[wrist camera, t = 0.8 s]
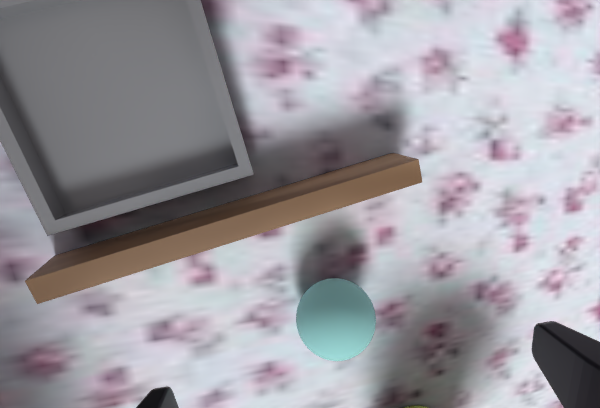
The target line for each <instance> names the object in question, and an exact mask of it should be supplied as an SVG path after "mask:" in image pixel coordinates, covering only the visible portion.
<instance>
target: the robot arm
mask: <svg viewBox="0 0 600 408" xmlns="http://www.w3.org/2000/svg"><path fill="white" fill-rule="evenodd" d="M532 354H533V357H534V359H535V361H536V362H537V364H538V366H539V367H540V369H541V371H542V372H543V374H544V376H545V377H546V379H547V381H548V382H549V384H550V385H551V387H552V389H553V390H554V392H555V394H556V395H557V397H558V399H559V400H560V402H561V404H562V405H563V407H564V408H600V342H599V341H597V340H594V339H592V338H590V337H588V336H586V335H583V334H581V333H579V332H577V331H575V330H572V329H570V328H568V327H566V326H564V325H561V324H559V323H557V322H554V321H549V322H543V323H538V324H536V325H535V327H534V334H533V342H532ZM136 408H179V407H178V405H177V402H176V399H175V396H174V394H173V391H172V389H171V388H170V387H161V388H155V389H153V390H151V391H150V392H149V393H148V394H147V396H146V397H145V398H144V399H143V400H142V401H141V403H140V404H139V405H138V406H137V407H136Z"/></svg>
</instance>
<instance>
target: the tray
mask: <svg viewBox="0 0 600 408" xmlns="http://www.w3.org/2000/svg"><path fill="white" fill-rule="evenodd" d="M0 141H1V143H2V145H3V147H4V149H5V151H6V153H7V155H8V157H9V159H10V161H11V163H12V165H13V167H14V169H15V172H16V174H17V176H18V178H19V180H20V182H21V184H22V186H23V188H24V190H25V192H26V194H27V196H28V198H29V200H30V202H31V204H32V206H33V208H34V210H35V212H36V214H37V216H38V218H39V220H40V222H41V224H42V226H43V228H44V230H45V232H46V234H47V236H49V235H52V234H56V233H59V232H62V231H66V230H69V229H73V228H76V227H79V226H83V225H86V224H89V223H93V222H96V221H99V220H103V219H106V218H110V217H113V216H116V215H120V214H123V213H126V212H130V211H133V210H136V209H140V208H143V207H146V206H150V205H153V204H157V203H160V202H163V201H167V200H170V199H173V198H177V197H180V196H183V195H187V194H190V193H194V192H197V191H200V190H204V189H207V188H210V187H214V186H217V185H220V184H224V183H227V182H230V181H234V180H237V179H241V178H244V177H247V176H251V175H254V173H253V170H252V167H251V163H250V160H249V157H248V154H247V150H246V147H245V144H244V141H243V137H242V134H241V131H240V127H239V124H238V121H237V118H236V114H235V111H234V108H233V105H232V101H231V98H230V95H229V91H228V88H227V85H226V82H225V78H224V75H223V72H222V69H221V65H220V62H219V59H218V56H217V52H216V49H215V46H214V42H213V39H212V36H211V33H210V29H209V26H208V23H207V20H206V16H205V13H204V10H203V6H202V3H201V0H0Z"/></svg>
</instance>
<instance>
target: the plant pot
mask: <svg viewBox="0 0 600 408" xmlns="http://www.w3.org/2000/svg"><path fill="white" fill-rule="evenodd" d="M405 408H429V407H425V406H409V407H405Z"/></svg>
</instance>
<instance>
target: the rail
mask: <svg viewBox="0 0 600 408" xmlns="http://www.w3.org/2000/svg"><path fill="white" fill-rule="evenodd" d="M421 182H422V177H421V171H420V165H419V160H418V159H415V158H411V157H407V156H403V155H399V154H395V153H391V154H387V155H384V156H381V157H378V158H374V159H371V160H368V161H364V162H361V163H358V164H354V165H351V166H348V167H345V168H341V169H338V170H335V171H331V172H328V173H325V174H322V175H318V176H315V177H312V178H308V179H305V180H302V181H299V182H295V183H292V184H289V185H285V186H282V187H279V188H276V189H272V190H269V191H266V192H262V193H259V194H256V195H253V196H249V197H246V198H243V199H239V200H236V201H233V202H229V203H226V204H223V205H220V206H216V207H213V208H210V209H206V210H203V211H200V212H197V213H193V214H190V215H187V216H183V217H180V218H177V219H174V220H170V221H167V222H164V223H160V224H157V225H154V226H151V227H147V228H144V229H141V230H137V231H134V232H131V233H128V234H124V235H121V236H118V237H114V238H111V239H108V240H105V241H101V242H98V243H95V244H91V245H88V246H85V247H81V248H78V249H75V250H72V251H68V252H65V253H62V254H58V255H55V256H54V257H53V258H51V259H50V260H49V261H48V262H47V263H46V264H44V265H43V266H42V267H41V268H40V269H38V270H37V271H36V272H35V273H34V274H33V275H31V276H30V277H29V278H28V279H27V280H25V282H26V284H27V286H28V288H29V290H30V291H31V293H32V295H33V297H34V299H35V301H36V303H37V304H39V303H42V302H45V301H49V300H52V299H55V298H58V297H61V296H64V295H67V294H71V293H74V292H77V291H80V290H83V289H86V288H90V287H93V286H96V285H99V284H102V283H105V282H109V281H112V280H115V279H118V278H121V277H124V276H127V275H131V274H134V273H137V272H140V271H143V270H146V269H150V268H153V267H156V266H159V265H162V264H165V263H169V262H172V261H175V260H178V259H181V258H184V257H187V256H191V255H194V254H197V253H200V252H203V251H206V250H210V249H213V248H216V247H219V246H222V245H225V244H229V243H232V242H235V241H238V240H241V239H244V238H247V237H251V236H254V235H257V234H260V233H263V232H266V231H270V230H273V229H276V228H279V227H282V226H285V225H289V224H292V223H295V222H298V221H301V220H304V219H307V218H311V217H314V216H317V215H320V214H323V213H326V212H330V211H333V210H336V209H339V208H342V207H345V206H349V205H352V204H355V203H358V202H361V201H364V200H367V199H371V198H374V197H377V196H380V195H383V194H386V193H390V192H393V191H396V190H399V189H402V188H405V187H409V186H412V185H415V184H418V183H421Z"/></svg>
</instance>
